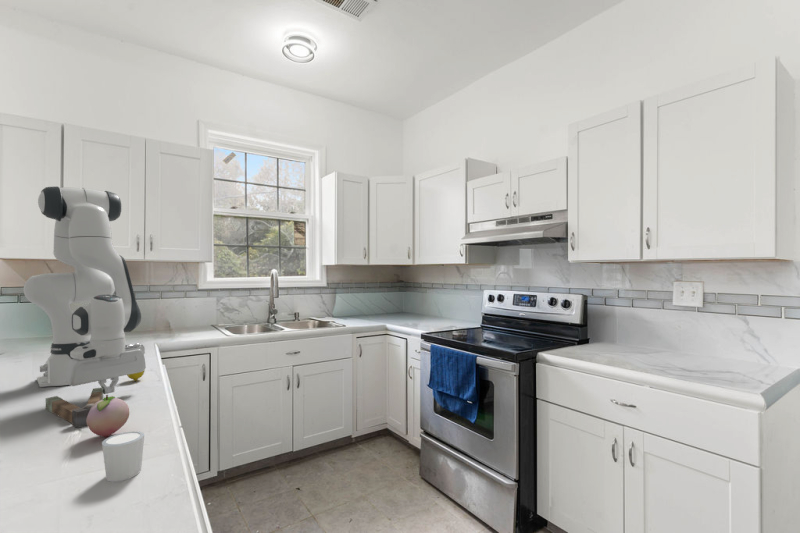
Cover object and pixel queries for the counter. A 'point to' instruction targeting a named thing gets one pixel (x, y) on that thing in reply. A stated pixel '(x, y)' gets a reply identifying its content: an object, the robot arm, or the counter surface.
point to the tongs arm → (96, 395)
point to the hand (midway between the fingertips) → (108, 392)
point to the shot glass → (123, 455)
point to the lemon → (136, 375)
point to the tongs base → (68, 411)
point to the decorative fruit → (107, 416)
